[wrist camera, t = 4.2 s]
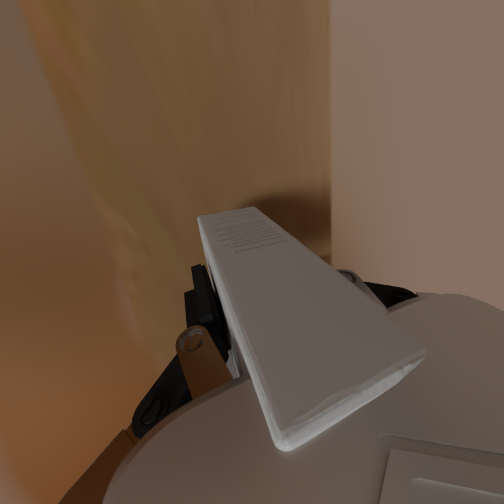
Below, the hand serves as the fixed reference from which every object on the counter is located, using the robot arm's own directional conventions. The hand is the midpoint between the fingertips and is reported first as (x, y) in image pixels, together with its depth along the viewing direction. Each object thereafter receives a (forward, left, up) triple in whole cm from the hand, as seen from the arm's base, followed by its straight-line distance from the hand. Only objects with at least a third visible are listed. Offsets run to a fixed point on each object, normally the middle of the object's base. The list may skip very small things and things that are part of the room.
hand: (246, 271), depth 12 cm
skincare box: (0, 0, -4) cm, 4 cm away
